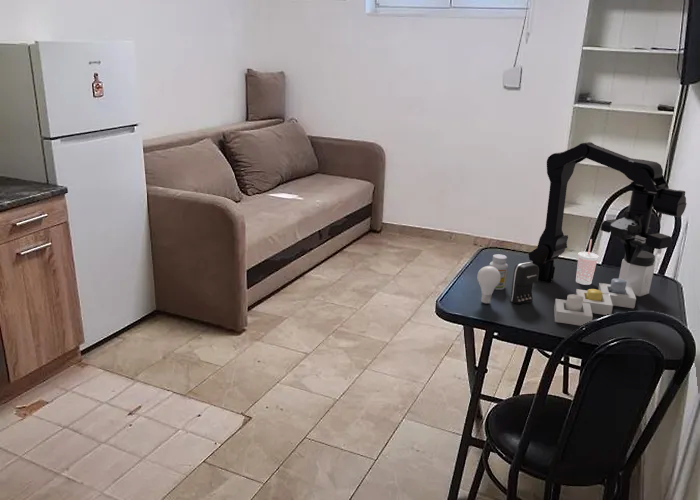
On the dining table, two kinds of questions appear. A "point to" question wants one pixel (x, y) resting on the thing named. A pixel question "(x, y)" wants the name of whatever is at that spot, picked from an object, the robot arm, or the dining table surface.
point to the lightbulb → (488, 282)
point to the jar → (638, 272)
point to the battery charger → (524, 282)
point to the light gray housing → (619, 296)
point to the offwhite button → (574, 302)
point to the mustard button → (594, 294)
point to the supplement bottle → (500, 269)
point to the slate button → (618, 286)
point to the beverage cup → (586, 266)
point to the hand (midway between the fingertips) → (629, 263)
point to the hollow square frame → (597, 303)
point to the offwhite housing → (572, 313)
